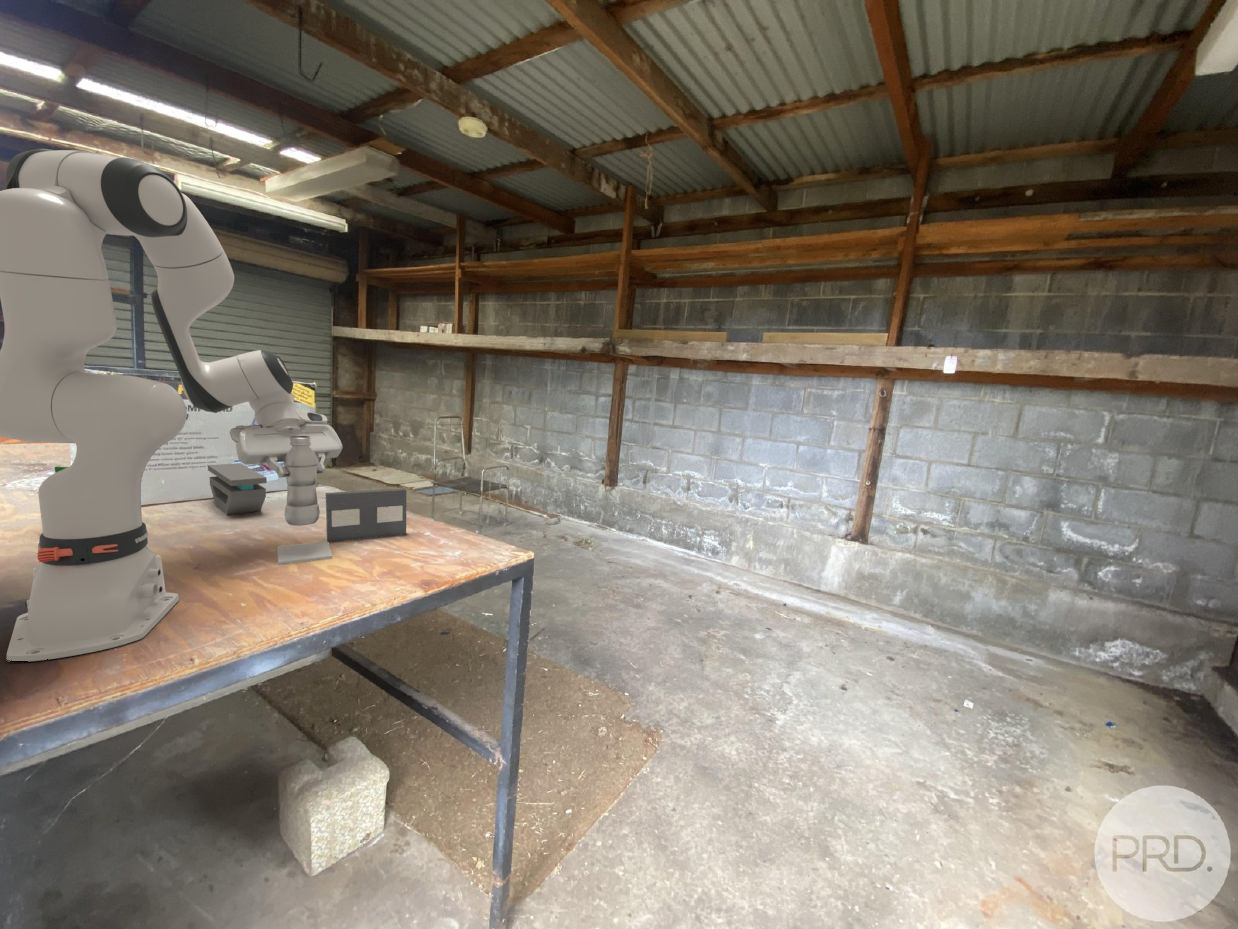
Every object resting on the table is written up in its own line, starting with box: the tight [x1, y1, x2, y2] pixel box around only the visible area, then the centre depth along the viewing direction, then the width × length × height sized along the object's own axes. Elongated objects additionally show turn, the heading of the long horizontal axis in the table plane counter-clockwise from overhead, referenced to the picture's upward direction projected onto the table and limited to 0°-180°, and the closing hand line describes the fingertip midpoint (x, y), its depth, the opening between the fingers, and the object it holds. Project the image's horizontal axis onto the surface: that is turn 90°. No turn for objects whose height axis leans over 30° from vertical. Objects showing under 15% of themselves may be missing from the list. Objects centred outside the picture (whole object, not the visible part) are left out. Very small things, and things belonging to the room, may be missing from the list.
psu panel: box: [325, 488, 407, 544], centre depth 126 cm, size 2×18×12 cm, turn 125°
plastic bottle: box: [283, 436, 321, 527], centre depth 111 cm, size 6×7×20 cm
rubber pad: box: [277, 540, 333, 566], centre depth 113 cm, size 11×10×1 cm
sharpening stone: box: [207, 462, 268, 516], centre depth 143 cm, size 25×8×11 cm, turn 50°
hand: (303, 473), depth 110 cm, fingers closed on plastic bottle, 6 cm apart
